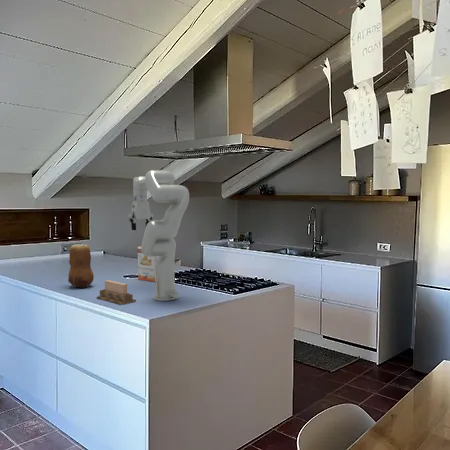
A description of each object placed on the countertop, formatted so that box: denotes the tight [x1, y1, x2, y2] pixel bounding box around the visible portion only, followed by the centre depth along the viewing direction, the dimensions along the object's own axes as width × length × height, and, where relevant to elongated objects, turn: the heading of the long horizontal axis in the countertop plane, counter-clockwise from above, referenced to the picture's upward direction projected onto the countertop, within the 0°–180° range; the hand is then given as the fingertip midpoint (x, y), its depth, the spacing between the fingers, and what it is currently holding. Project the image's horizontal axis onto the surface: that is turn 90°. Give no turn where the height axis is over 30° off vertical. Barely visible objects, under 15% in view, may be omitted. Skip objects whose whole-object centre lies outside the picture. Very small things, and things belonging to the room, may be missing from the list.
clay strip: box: [104, 279, 128, 296], centre depth 233 cm, size 16×2×8 cm, turn 47°
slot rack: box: [96, 288, 137, 306], centre depth 233 cm, size 21×9×4 cm, turn 48°
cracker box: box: [137, 245, 159, 283], centre depth 284 cm, size 14×6×21 cm, turn 56°
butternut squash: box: [67, 243, 95, 289], centre depth 264 cm, size 14×13×25 cm
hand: (140, 229), depth 260 cm, fingers open, 9 cm apart
